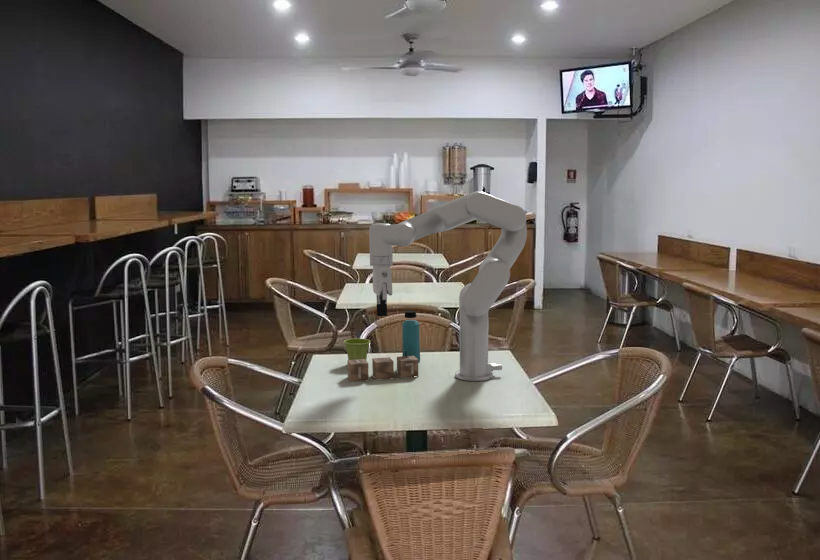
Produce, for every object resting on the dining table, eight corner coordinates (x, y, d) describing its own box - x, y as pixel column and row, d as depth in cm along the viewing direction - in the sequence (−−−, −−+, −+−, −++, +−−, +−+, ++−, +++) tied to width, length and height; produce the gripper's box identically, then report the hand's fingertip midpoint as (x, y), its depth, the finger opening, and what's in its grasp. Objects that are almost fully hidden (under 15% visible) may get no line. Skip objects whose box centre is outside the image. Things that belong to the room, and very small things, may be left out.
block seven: (413, 372, 246) (413, 355, 245) (418, 377, 240) (418, 359, 239) (397, 373, 245) (396, 356, 244) (401, 378, 239) (400, 360, 238)
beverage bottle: (423, 365, 255) (423, 310, 252) (414, 369, 249) (413, 313, 247) (408, 363, 258) (407, 308, 256) (398, 367, 253) (397, 311, 250)
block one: (365, 376, 242) (365, 358, 241) (368, 380, 236) (368, 362, 235) (347, 377, 241) (347, 359, 240) (350, 382, 235) (350, 364, 234)
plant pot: (358, 360, 264) (358, 337, 263) (375, 364, 257) (375, 340, 256) (339, 364, 257) (338, 341, 256) (356, 369, 251) (356, 345, 250)
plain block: (389, 374, 244) (389, 357, 243) (393, 378, 238) (393, 361, 237) (372, 375, 243) (372, 358, 242) (376, 380, 237) (375, 362, 236)
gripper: (397, 262, 229) (397, 319, 231) (387, 258, 243) (388, 311, 246) (374, 263, 227) (375, 320, 230) (365, 259, 241) (366, 312, 244)
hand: (381, 315), depth 238 cm, fingers closed
